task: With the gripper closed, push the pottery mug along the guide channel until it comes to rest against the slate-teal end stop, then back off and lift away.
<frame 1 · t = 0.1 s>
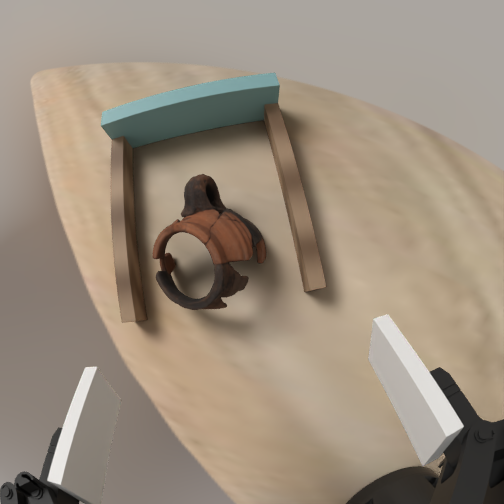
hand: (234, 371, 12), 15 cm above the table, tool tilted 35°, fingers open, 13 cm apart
guide channel: (207, 210, 30), on the table
pottery mug: (214, 248, 29), on the table
end stop: (195, 125, 32), on the table
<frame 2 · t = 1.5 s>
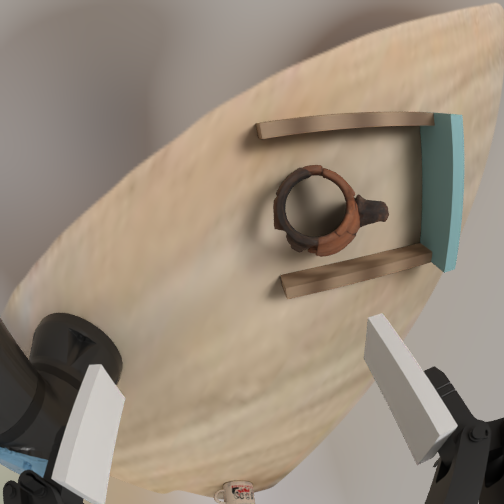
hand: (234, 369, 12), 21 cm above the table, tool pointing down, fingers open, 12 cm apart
guide channel: (355, 196, 31), on the table
pottery mug: (321, 205, 32), on the table
end stop: (428, 185, 32), on the table
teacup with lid: (233, 483, 63), on the table
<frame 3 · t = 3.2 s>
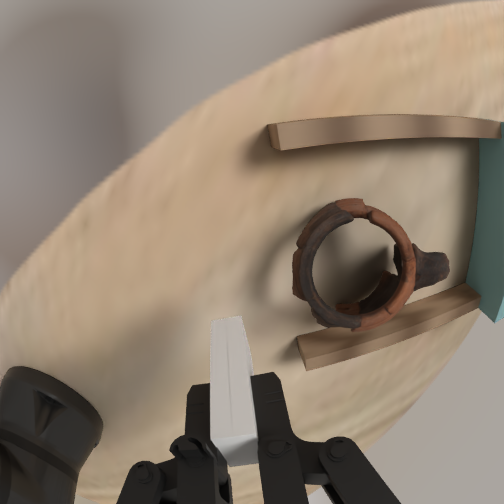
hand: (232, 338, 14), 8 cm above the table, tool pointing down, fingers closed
guide channel: (402, 231, 22), on the table
pottery mug: (355, 251, 22), on the table
end stop: (482, 212, 22), on the table
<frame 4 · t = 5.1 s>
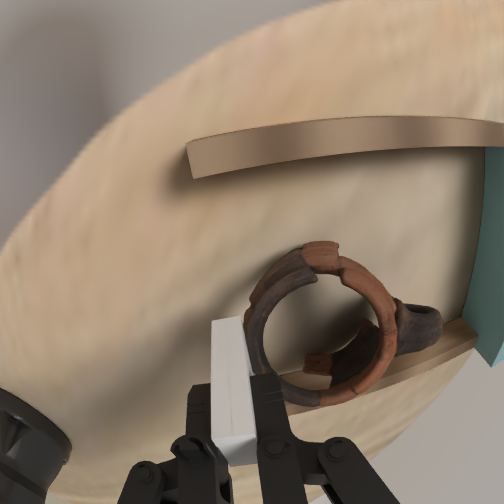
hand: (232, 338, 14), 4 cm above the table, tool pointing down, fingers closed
guide channel: (381, 266, 18), on the table
pottery mug: (330, 299, 19), on the table, touching gripper
end stop: (485, 237, 18), on the table
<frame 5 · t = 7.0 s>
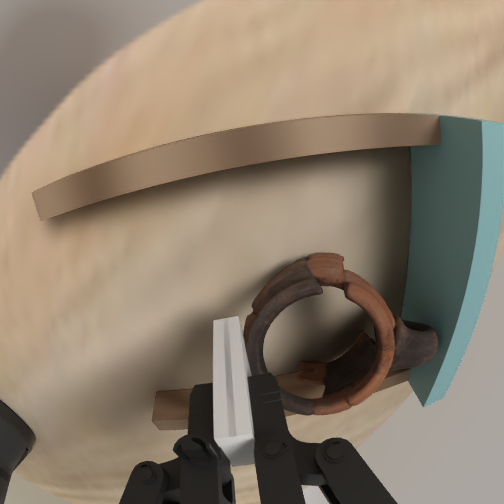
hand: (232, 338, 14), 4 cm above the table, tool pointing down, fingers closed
guide channel: (263, 292, 17), on the table
pottery mug: (329, 310, 19), on the table, touching end stop, gripper
end stop: (419, 256, 18), on the table
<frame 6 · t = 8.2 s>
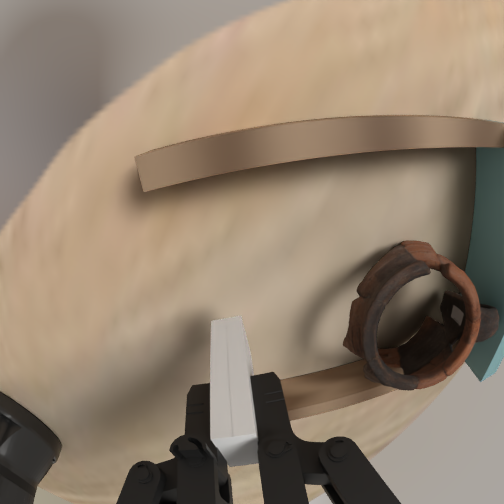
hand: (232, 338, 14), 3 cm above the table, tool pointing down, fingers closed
guide channel: (358, 276, 17), on the table
pottery mug: (404, 296, 19), on the table
end stop: (477, 244, 17), on the table
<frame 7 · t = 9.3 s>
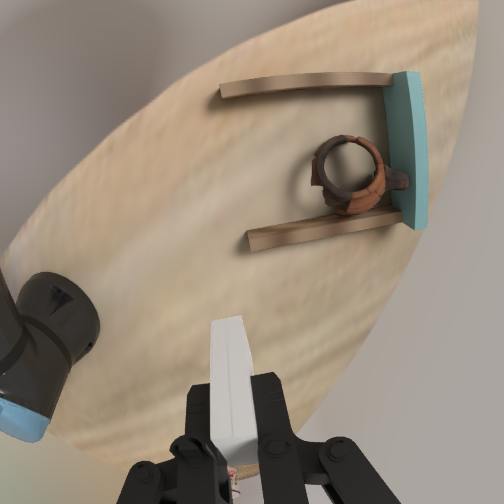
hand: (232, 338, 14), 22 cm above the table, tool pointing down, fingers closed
guide channel: (318, 153, 33), on the table
pottery mug: (349, 174, 34), on the table
end stop: (394, 146, 33), on the table
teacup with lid: (217, 468, 65), on the table
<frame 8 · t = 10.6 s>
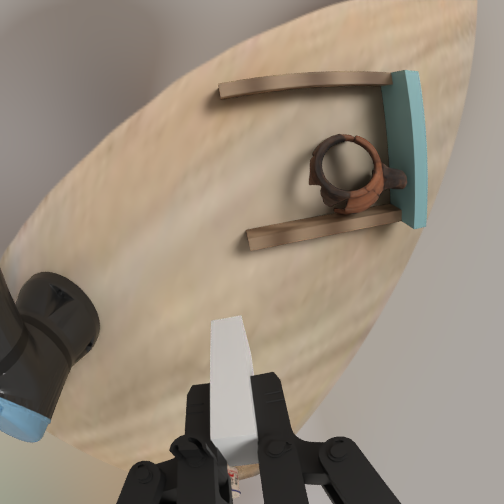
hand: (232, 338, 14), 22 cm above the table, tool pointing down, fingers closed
guide channel: (317, 152, 33), on the table
pottery mug: (347, 173, 34), on the table
end stop: (393, 145, 33), on the table
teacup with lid: (217, 468, 65), on the table
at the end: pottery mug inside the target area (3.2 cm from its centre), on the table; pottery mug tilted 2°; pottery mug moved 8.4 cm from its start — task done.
